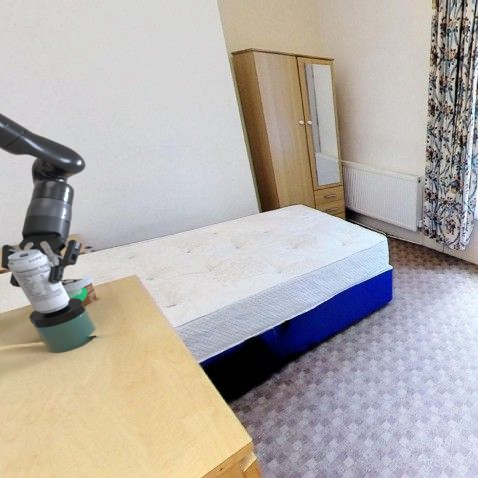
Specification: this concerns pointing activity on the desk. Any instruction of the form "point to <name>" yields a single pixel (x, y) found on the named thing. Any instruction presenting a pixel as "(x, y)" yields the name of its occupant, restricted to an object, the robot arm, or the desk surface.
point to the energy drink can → (37, 281)
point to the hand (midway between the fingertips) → (36, 284)
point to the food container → (80, 289)
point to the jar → (68, 333)
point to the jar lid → (58, 314)
